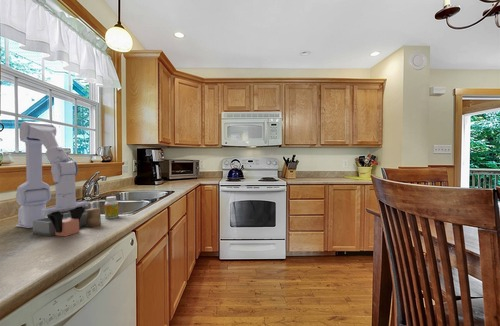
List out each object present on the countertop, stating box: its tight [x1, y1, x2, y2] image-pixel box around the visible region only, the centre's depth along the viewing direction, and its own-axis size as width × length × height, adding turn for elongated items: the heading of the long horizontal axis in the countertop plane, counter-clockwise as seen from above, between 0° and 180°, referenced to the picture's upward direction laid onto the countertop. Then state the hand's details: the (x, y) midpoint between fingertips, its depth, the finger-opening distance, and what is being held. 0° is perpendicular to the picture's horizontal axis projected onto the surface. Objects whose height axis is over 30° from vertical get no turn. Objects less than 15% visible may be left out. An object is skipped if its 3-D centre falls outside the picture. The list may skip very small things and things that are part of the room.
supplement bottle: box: [104, 195, 119, 220], centre depth 105 cm, size 5×5×10 cm
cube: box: [54, 218, 80, 237], centre depth 83 cm, size 5×5×5 cm
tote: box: [32, 209, 87, 237], centre depth 91 cm, size 9×18×5 cm, turn 161°
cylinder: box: [85, 207, 102, 229], centre depth 93 cm, size 5×5×7 cm
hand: (67, 229), depth 83 cm, fingers closed on cube, 5 cm apart
